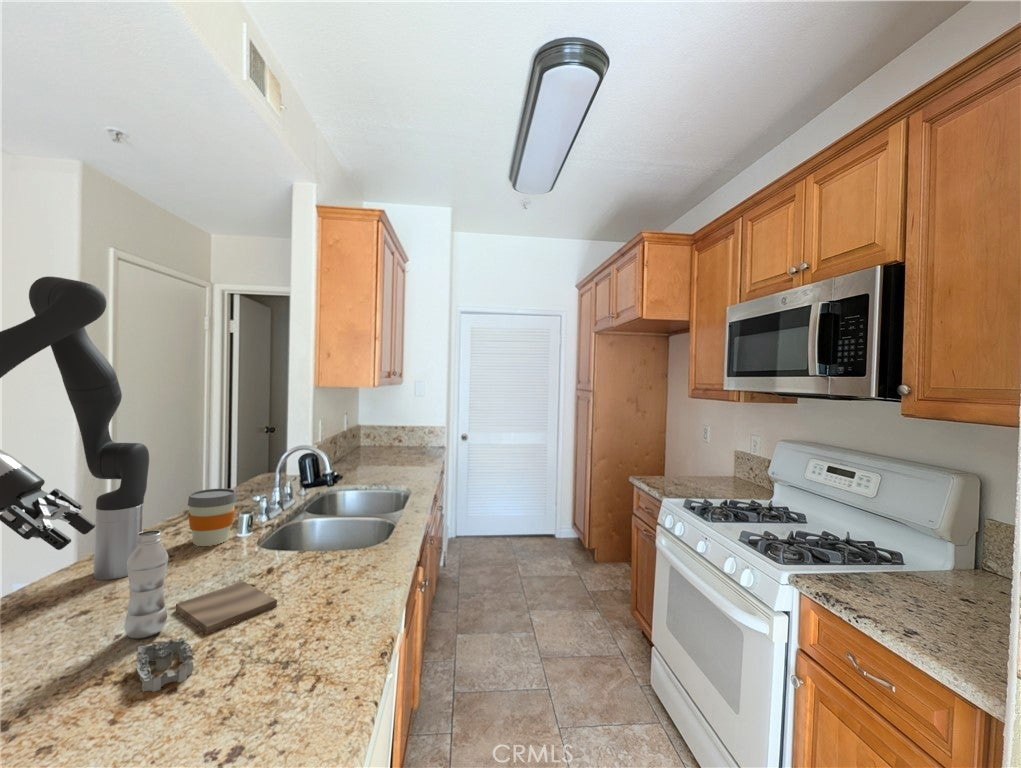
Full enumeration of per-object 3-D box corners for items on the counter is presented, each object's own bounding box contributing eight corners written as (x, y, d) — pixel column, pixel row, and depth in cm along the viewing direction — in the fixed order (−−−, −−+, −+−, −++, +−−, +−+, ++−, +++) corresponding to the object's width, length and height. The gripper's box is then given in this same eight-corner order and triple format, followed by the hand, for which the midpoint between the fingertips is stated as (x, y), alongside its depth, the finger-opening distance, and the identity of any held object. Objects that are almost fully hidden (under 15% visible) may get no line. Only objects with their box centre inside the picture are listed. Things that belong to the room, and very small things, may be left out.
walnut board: (175, 610, 97) (175, 603, 97) (243, 587, 108) (243, 581, 108) (207, 634, 88) (207, 626, 88) (276, 606, 100) (276, 599, 100)
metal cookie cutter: (194, 680, 76) (195, 656, 76) (137, 699, 71) (138, 674, 71) (188, 650, 84) (188, 628, 84) (135, 665, 79) (136, 642, 79)
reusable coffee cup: (201, 534, 143) (203, 488, 143) (242, 534, 144) (244, 488, 144) (176, 549, 130) (178, 498, 130) (221, 549, 131) (223, 498, 131)
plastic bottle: (143, 645, 84) (147, 540, 84) (114, 640, 85) (118, 536, 85) (175, 627, 90) (178, 529, 90) (147, 622, 92) (151, 526, 92)
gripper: (-9, 472, 74) (77, 535, 78) (43, 458, 87) (114, 512, 91) (-55, 506, 72) (36, 568, 76) (6, 486, 85) (80, 540, 89)
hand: (78, 537), depth 84 cm, fingers open, 8 cm apart
